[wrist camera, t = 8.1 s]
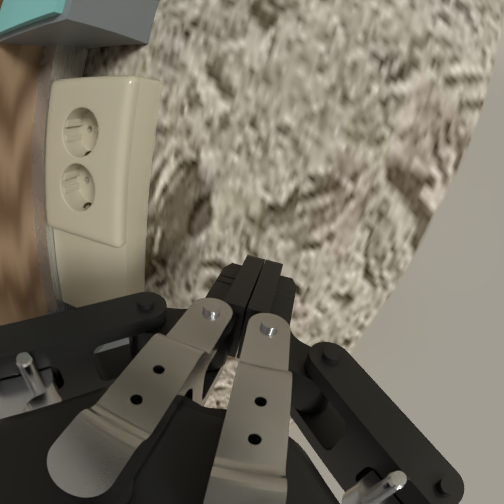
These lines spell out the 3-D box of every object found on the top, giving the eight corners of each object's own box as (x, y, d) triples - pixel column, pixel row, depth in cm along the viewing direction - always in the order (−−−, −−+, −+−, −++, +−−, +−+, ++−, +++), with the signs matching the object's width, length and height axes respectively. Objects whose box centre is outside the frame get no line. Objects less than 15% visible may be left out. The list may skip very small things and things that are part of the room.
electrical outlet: (56, 306, 22) (49, 79, 14) (82, 284, 26) (86, 81, 18) (123, 337, 21) (133, 74, 14) (147, 308, 25) (166, 81, 17)
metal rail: (74, 50, 17) (43, 46, 14) (88, 48, 17) (56, 43, 13) (70, 293, 26) (47, 311, 23) (81, 298, 26) (59, 317, 23)
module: (85, 6, 15) (4, -14, 7) (160, -6, 14) (82, -51, 7) (74, 50, 17) (-12, 43, 9) (147, 43, 16) (58, 17, 8)
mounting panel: (70, 5, 15) (-23, -13, 6) (87, 1, 15) (-9, -23, 6) (63, 321, 28) (5, 377, 19) (76, 328, 28) (18, 388, 19)
